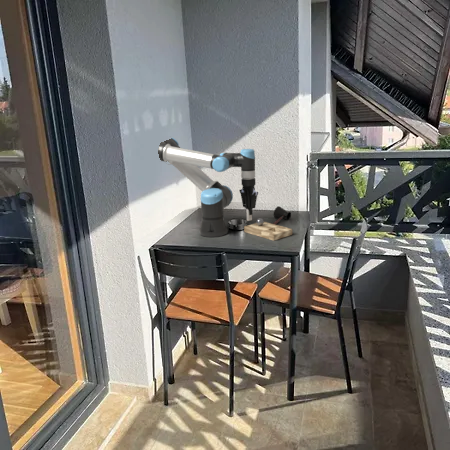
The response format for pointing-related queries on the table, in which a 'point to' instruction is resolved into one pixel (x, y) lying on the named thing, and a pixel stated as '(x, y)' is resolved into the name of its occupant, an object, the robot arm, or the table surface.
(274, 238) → the wooden board
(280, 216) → the coffee pot
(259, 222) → the steel ball
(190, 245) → the table surface
